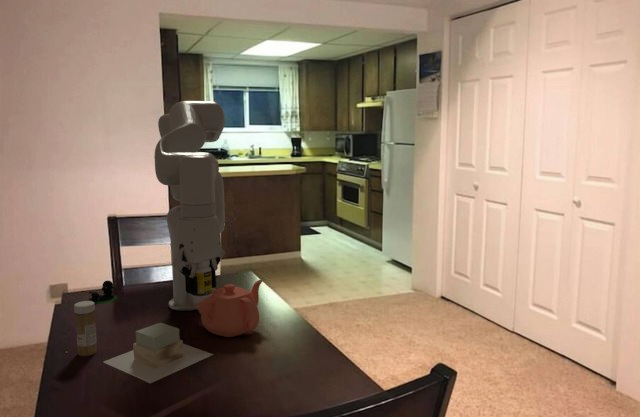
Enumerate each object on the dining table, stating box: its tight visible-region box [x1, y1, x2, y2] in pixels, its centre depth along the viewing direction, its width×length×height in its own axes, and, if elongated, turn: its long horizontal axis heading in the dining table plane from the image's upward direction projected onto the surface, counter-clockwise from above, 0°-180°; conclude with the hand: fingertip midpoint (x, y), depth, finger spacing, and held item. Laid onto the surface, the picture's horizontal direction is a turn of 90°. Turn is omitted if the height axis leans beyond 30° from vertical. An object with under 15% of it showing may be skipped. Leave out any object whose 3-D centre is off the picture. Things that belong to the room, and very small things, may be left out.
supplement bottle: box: [191, 260, 212, 298], centre depth 119 cm, size 5×5×8 cm
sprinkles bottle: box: [73, 300, 98, 357], centre depth 127 cm, size 5×5×13 cm
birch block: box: [132, 339, 184, 369], centre depth 125 cm, size 8×8×4 cm
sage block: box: [135, 322, 181, 350], centre depth 124 cm, size 7×7×3 cm
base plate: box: [102, 343, 214, 384], centre depth 125 cm, size 18×18×1 cm
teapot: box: [197, 278, 264, 338], centre depth 142 cm, size 16×17×14 cm
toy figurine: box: [86, 280, 118, 305], centre depth 172 cm, size 10×10×6 cm
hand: (201, 289), depth 119 cm, fingers closed on supplement bottle, 4 cm apart
